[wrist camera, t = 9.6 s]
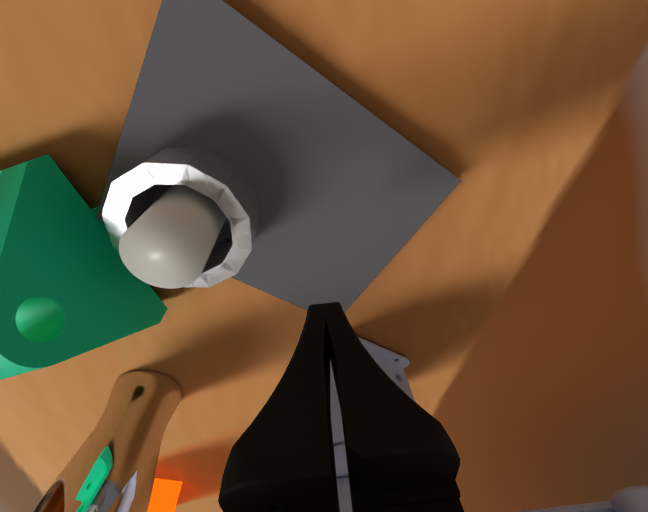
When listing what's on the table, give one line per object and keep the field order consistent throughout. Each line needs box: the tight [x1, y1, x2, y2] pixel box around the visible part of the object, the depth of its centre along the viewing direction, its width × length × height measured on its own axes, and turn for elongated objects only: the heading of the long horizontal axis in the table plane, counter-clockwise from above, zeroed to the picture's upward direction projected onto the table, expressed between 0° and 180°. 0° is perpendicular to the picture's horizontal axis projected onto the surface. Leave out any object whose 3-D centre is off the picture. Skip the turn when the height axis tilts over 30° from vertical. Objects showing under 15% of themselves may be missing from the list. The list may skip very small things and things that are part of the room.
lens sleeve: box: [102, 145, 259, 287], centre depth 18 cm, size 7×7×4 cm
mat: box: [96, 0, 461, 312], centre depth 20 cm, size 18×14×1 cm
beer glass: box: [34, 370, 182, 512], centre depth 23 cm, size 7×7×15 cm
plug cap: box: [119, 185, 227, 289], centre depth 17 cm, size 4×4×6 cm
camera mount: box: [0, 154, 167, 379], centre depth 17 cm, size 12×8×10 cm, turn 16°
